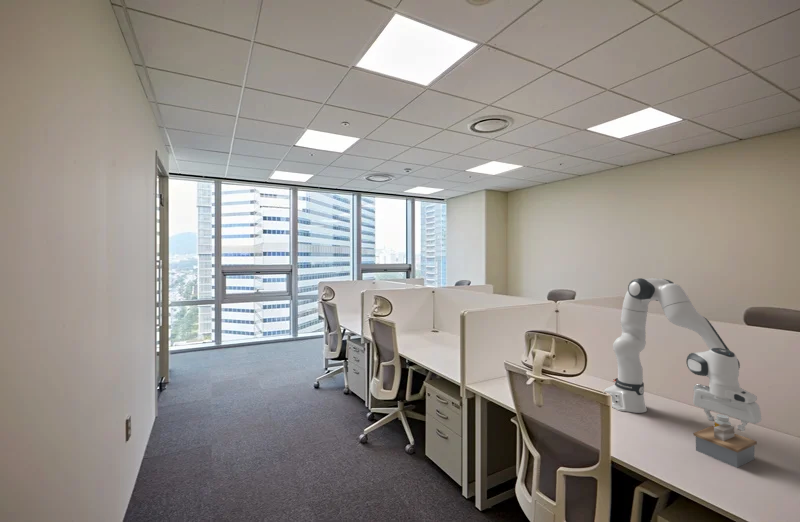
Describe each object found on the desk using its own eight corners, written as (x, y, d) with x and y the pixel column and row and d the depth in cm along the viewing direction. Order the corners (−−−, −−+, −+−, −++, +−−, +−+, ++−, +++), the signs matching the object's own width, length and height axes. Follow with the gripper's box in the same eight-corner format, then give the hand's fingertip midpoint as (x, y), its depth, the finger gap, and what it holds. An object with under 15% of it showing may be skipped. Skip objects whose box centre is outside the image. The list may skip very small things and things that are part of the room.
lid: (693, 435, 141) (693, 423, 141) (712, 428, 147) (712, 416, 147) (737, 452, 128) (737, 439, 128) (756, 443, 134) (756, 431, 134)
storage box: (695, 452, 141) (695, 435, 141) (713, 445, 146) (713, 428, 146) (737, 470, 129) (736, 451, 129) (754, 461, 134) (754, 443, 134)
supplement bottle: (716, 433, 156) (716, 412, 156) (733, 438, 151) (732, 416, 151) (713, 437, 153) (712, 415, 153) (729, 442, 148) (729, 420, 148)
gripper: (689, 383, 146) (690, 416, 145) (754, 400, 127) (755, 438, 127) (697, 381, 148) (698, 413, 148) (762, 397, 129) (764, 434, 129)
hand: (725, 425), depth 137 cm, fingers open, 8 cm apart
